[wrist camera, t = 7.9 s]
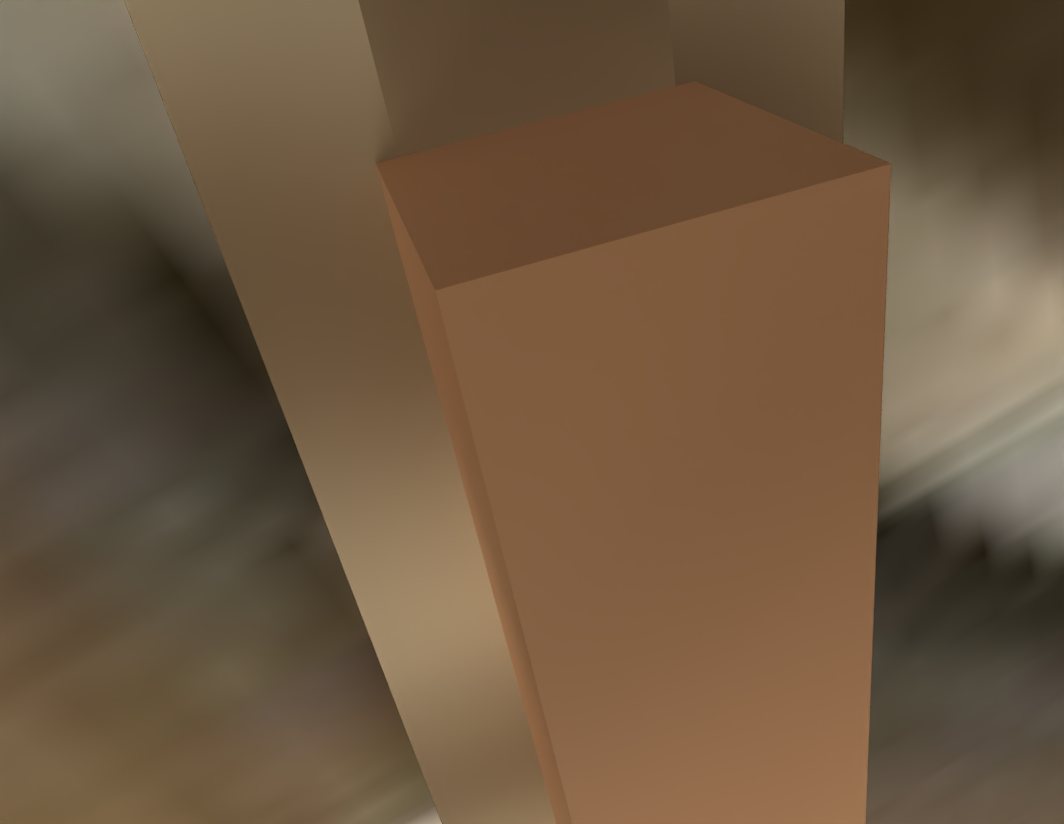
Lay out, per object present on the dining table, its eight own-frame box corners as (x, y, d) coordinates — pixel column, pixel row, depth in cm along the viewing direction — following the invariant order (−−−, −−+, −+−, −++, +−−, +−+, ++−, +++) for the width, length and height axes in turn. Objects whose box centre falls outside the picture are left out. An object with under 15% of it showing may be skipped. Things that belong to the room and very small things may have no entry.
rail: (764, 888, 21) (832, 1021, 19) (524, 982, 21) (562, 1134, 18) (692, -238, 10) (848, -284, 7) (124, -123, 9) (74, -129, 6)
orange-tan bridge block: (680, 645, 16) (859, 959, 11) (515, 702, 15) (631, 1053, 11) (604, 43, 10) (891, 164, 6) (348, 105, 10) (433, 289, 5)
